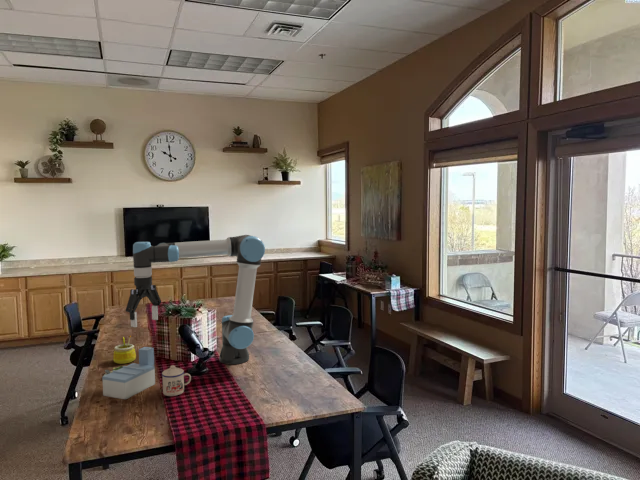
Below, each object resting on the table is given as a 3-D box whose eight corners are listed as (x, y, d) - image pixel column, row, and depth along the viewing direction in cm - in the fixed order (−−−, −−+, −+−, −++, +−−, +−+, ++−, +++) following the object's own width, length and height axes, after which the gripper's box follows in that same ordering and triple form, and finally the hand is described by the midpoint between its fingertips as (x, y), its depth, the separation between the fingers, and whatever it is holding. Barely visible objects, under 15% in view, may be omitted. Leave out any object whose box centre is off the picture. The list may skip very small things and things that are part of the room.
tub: (155, 384, 218) (154, 368, 217) (125, 399, 201) (124, 382, 201) (133, 380, 222) (133, 365, 222) (103, 395, 206) (102, 379, 205)
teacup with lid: (164, 398, 202) (163, 370, 201) (160, 390, 210) (159, 364, 209) (193, 392, 208) (192, 365, 207) (188, 385, 216) (187, 359, 215)
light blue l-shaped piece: (160, 367, 221) (159, 348, 221) (125, 384, 201) (124, 363, 200) (139, 364, 226) (138, 346, 225) (102, 381, 205) (101, 360, 204)
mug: (128, 365, 243) (127, 342, 242) (108, 364, 245) (107, 341, 245) (142, 357, 256) (141, 335, 255) (123, 356, 258) (122, 334, 257)
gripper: (155, 272, 231) (156, 316, 233) (115, 280, 208) (117, 329, 210) (168, 272, 229) (169, 317, 230) (129, 281, 205) (131, 330, 207)
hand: (144, 323), depth 220 cm, fingers open, 13 cm apart
